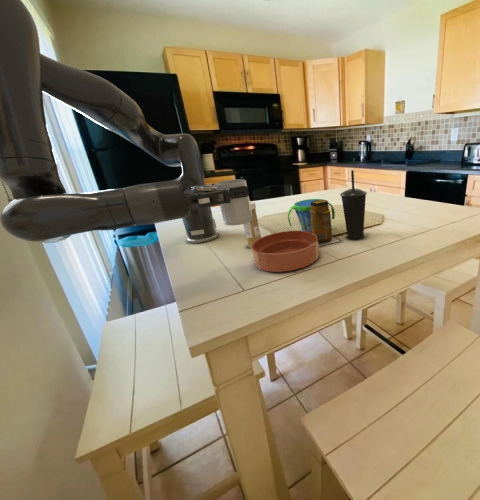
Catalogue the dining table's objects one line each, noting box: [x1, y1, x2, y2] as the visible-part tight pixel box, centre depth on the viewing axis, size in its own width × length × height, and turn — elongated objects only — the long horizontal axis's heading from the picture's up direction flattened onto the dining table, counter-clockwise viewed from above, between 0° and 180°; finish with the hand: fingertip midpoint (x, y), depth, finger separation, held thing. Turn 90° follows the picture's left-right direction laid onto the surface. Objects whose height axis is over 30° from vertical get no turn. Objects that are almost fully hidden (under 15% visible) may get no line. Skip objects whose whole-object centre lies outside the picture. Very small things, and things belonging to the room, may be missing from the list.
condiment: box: [310, 199, 340, 247], centre depth 81 cm, size 7×8×12 cm
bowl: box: [250, 230, 320, 273], centre depth 71 cm, size 17×17×5 cm
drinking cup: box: [339, 170, 368, 241], centre depth 80 cm, size 8×8×20 cm
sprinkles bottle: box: [242, 200, 262, 249], centre depth 81 cm, size 5×5×13 cm
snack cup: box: [287, 198, 336, 233], centre depth 90 cm, size 16×10×10 cm
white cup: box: [214, 178, 253, 227], centre depth 61 cm, size 6×6×9 cm
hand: (242, 189), depth 61 cm, fingers closed on white cup, 6 cm apart
